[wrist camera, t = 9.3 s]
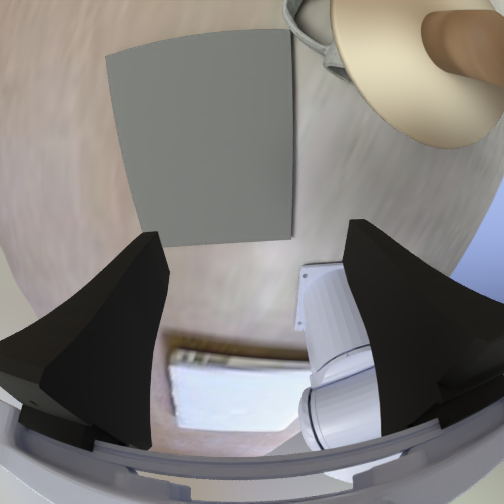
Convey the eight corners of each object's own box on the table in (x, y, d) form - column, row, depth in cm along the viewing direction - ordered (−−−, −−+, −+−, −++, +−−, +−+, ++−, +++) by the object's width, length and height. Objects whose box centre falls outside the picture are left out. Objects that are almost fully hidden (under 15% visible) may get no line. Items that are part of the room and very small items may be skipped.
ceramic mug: (431, 26, 11) (502, 28, 5) (402, 111, 16) (468, 142, 10) (298, -40, 9) (327, -89, 3) (264, 54, 14) (276, 43, 8)
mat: (290, 236, 23) (290, 239, 23) (148, 245, 23) (147, 248, 23) (288, 30, 13) (290, 29, 13) (108, 56, 13) (105, 56, 13)
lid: (490, 156, 10) (539, 192, 7) (327, 130, 10) (368, 166, 7) (498, -2, 4) (552, 4, 1) (322, -78, 4) (355, -120, 1)
